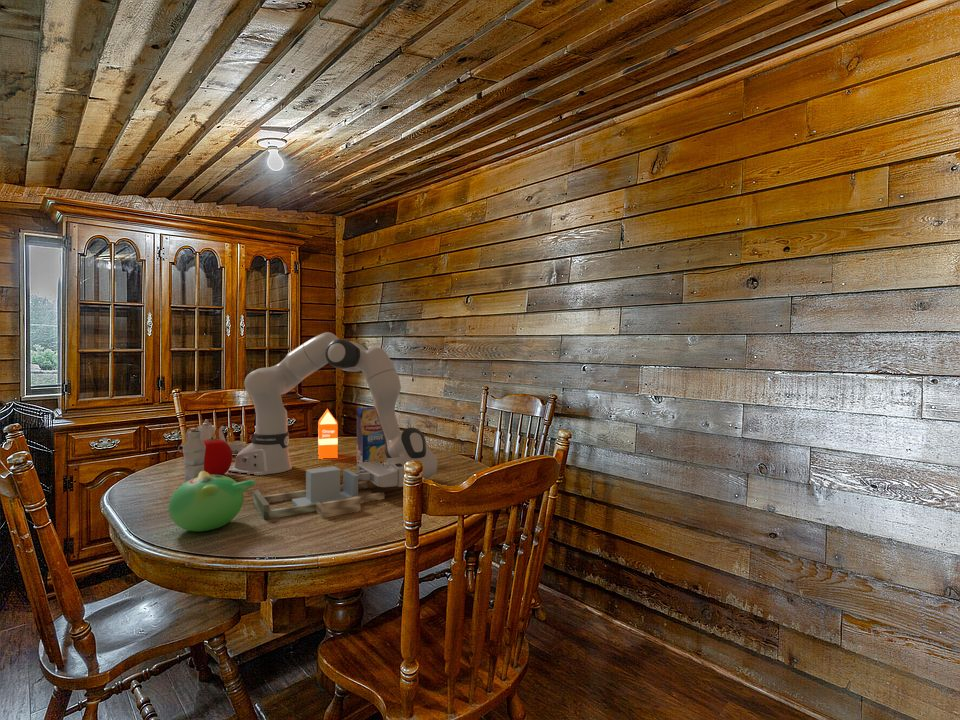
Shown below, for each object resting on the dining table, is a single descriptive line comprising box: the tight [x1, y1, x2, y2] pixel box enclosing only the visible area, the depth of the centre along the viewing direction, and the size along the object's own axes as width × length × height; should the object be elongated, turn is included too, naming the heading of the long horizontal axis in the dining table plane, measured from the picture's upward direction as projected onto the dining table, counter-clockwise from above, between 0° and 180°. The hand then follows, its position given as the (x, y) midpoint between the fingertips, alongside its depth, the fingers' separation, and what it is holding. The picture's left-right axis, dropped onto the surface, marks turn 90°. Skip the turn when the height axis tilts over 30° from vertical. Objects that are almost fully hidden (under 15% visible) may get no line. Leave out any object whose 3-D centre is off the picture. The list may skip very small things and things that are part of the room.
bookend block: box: [291, 465, 359, 506], centre depth 162 cm, size 18×10×10 cm, turn 124°
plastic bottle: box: [182, 429, 206, 484], centre depth 167 cm, size 6×7×20 cm
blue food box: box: [356, 406, 387, 463], centre depth 213 cm, size 7×11×22 cm, turn 124°
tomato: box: [203, 437, 233, 476], centre depth 188 cm, size 13×11×14 cm
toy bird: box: [168, 471, 257, 533], centre depth 138 cm, size 18×17×15 cm
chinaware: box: [177, 419, 247, 454], centre depth 218 cm, size 28×17×17 cm, turn 98°
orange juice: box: [317, 408, 339, 460], centre depth 221 cm, size 8×9×20 cm
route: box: [252, 480, 385, 521], centre depth 158 cm, size 36×23×4 cm, turn 124°
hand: (352, 476), depth 167 cm, fingers closed, pressing on bookend block
